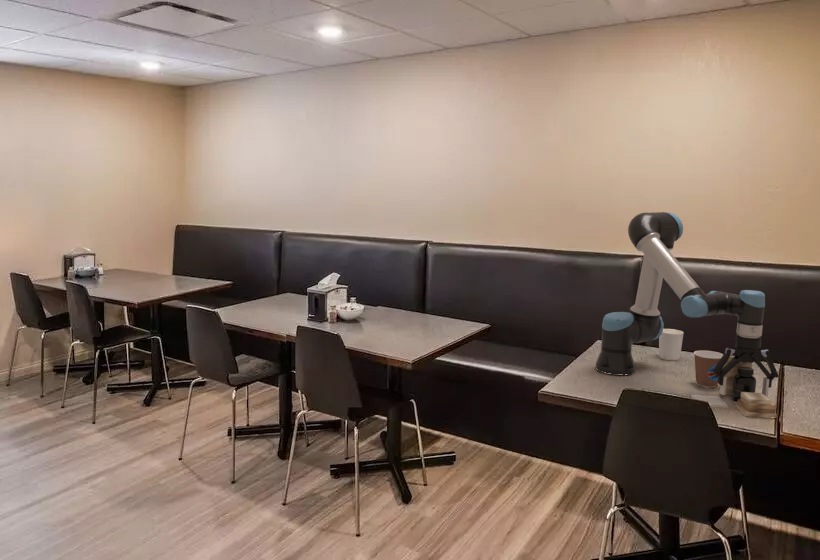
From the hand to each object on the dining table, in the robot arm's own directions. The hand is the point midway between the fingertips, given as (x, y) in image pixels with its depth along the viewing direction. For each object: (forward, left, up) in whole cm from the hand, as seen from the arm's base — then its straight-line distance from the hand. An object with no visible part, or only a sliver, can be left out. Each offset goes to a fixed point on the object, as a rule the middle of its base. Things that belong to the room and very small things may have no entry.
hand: (743, 395), depth 201 cm
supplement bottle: (0, 0, -2) cm, 2 cm away
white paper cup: (-11, +53, -2) cm, 54 cm away
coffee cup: (-7, +17, -2) cm, 18 cm away
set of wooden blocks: (0, -4, -2) cm, 5 cm away
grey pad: (-12, -3, -2) cm, 13 cm away
